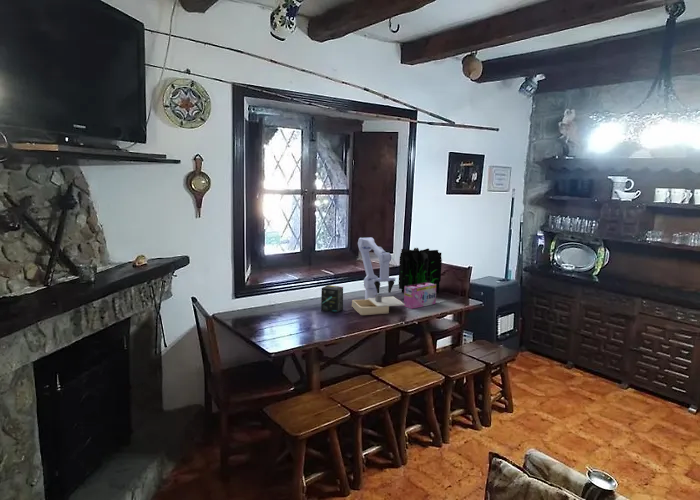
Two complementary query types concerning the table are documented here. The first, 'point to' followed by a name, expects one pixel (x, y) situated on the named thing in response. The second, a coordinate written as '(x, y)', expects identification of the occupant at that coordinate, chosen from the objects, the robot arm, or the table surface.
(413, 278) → the decorative plant
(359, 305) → the beige wooden tray
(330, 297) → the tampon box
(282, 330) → the table surface
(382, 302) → the lid
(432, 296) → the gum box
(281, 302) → the table surface
